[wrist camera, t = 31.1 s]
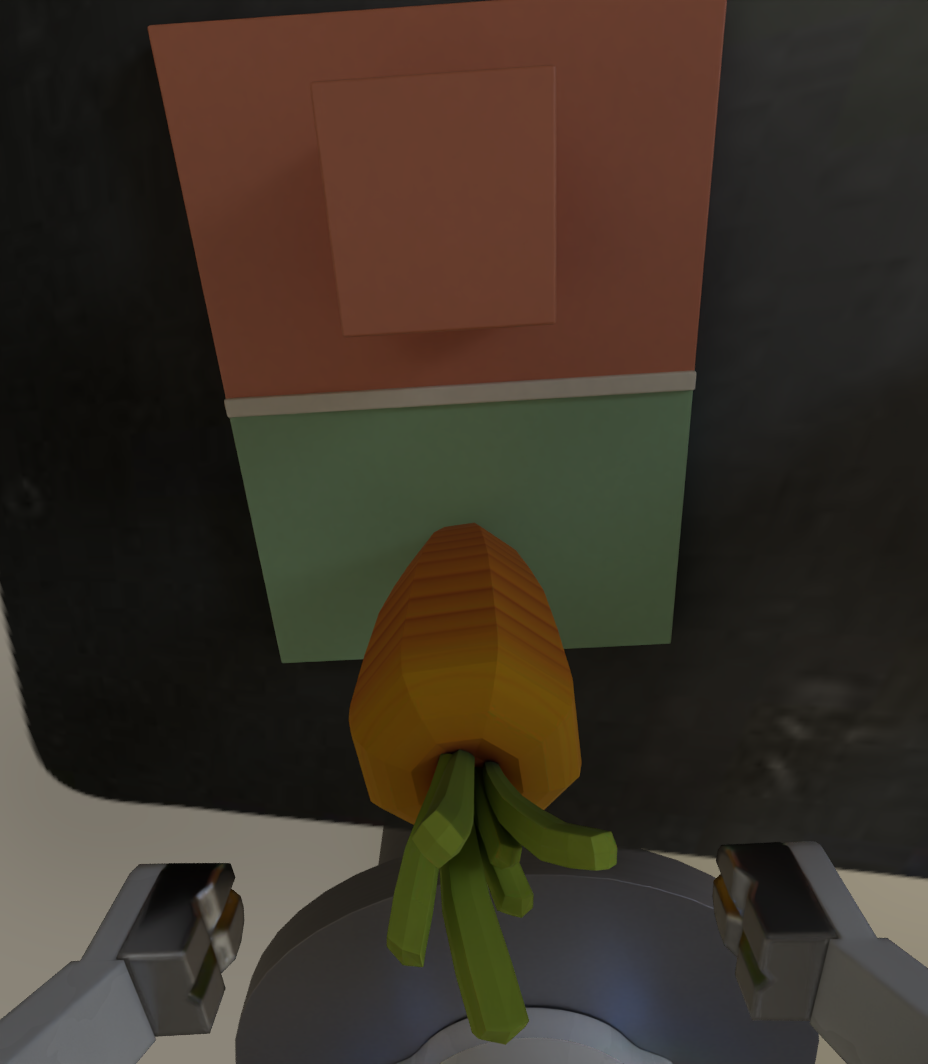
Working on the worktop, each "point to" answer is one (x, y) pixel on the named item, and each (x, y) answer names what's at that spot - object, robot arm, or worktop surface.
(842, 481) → the worktop surface
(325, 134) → the terracotta block
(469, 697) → the carrot
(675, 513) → the mat
